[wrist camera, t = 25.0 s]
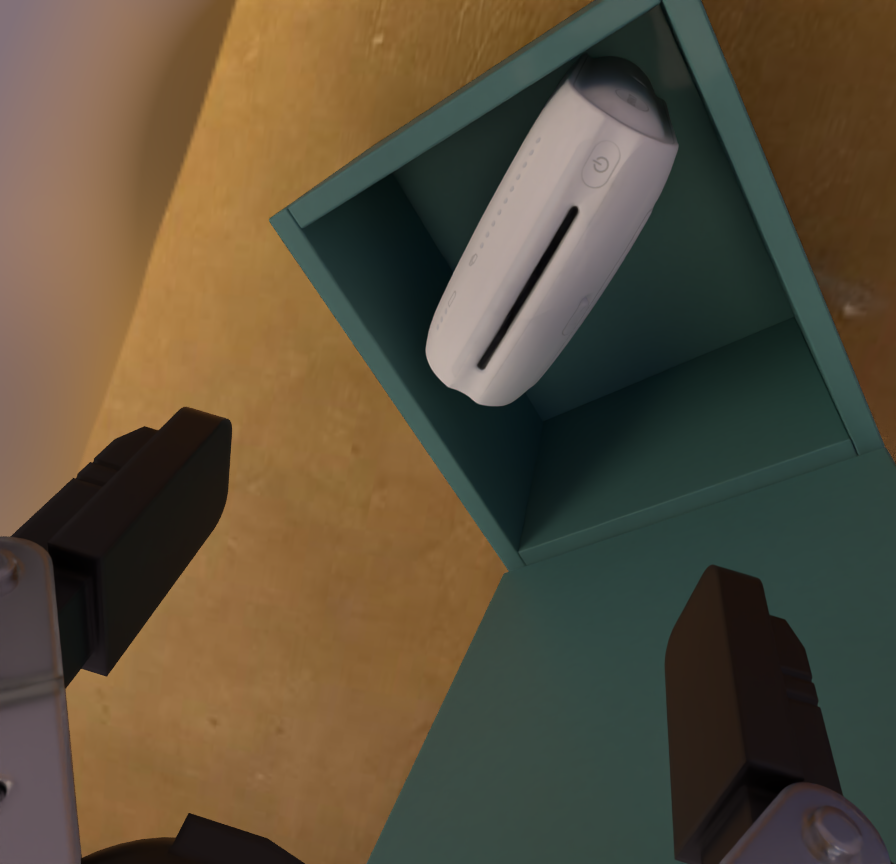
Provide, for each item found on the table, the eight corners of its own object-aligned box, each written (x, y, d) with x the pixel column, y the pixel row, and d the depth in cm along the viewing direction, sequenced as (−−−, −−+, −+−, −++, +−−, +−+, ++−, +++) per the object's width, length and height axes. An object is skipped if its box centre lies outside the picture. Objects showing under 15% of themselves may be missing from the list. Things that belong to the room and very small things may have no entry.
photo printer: (584, 28, 29) (556, 67, 18) (682, 87, 29) (711, 157, 19) (461, 261, 34) (386, 391, 24) (545, 308, 34) (507, 456, 24)
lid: (298, 1004, 15) (428, 1197, 16) (1173, 945, 9) (1297, 1255, 10) (503, 572, 29) (564, 685, 30) (885, 445, 24) (946, 590, 24)
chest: (366, 150, 33) (267, 220, 24) (664, -46, 28) (680, -51, 19) (538, 431, 39) (509, 573, 30) (816, 316, 33) (886, 449, 24)
